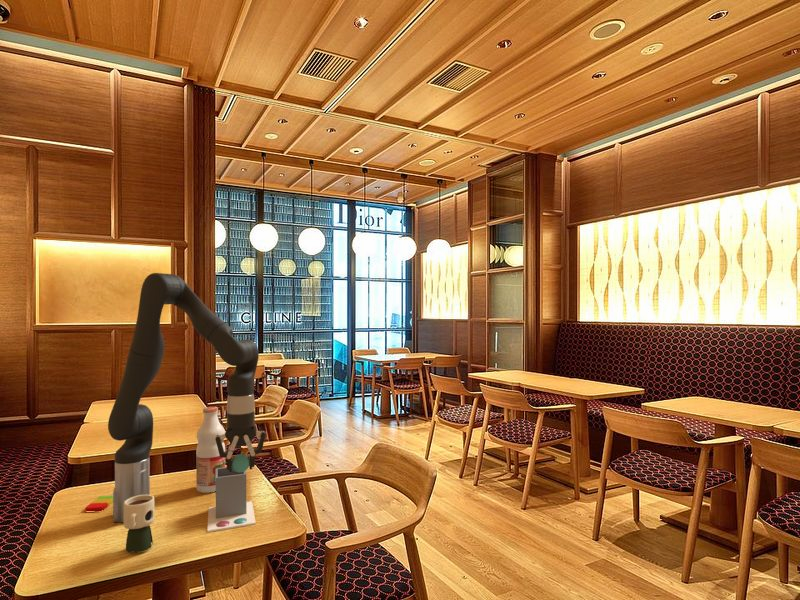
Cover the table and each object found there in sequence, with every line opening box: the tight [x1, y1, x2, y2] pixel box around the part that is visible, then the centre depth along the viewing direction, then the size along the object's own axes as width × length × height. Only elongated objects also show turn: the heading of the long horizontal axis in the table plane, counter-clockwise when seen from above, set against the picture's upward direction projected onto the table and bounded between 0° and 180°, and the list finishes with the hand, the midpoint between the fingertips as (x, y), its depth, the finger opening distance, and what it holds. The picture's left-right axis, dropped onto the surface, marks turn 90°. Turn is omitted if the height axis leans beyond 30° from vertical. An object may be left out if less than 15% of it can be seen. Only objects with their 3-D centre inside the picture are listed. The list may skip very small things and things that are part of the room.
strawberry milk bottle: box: [195, 406, 226, 494], centre depth 164 cm, size 9×9×28 cm
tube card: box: [207, 466, 257, 533], centre depth 142 cm, size 13×16×12 cm
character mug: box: [123, 494, 155, 553], centre depth 123 cm, size 11×7×13 cm, turn 12°
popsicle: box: [84, 492, 113, 512], centre depth 153 cm, size 6×15×2 cm, turn 7°
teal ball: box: [232, 453, 250, 472], centre depth 134 cm, size 5×5×5 cm
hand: (240, 469), depth 134 cm, fingers closed on teal ball, 5 cm apart
